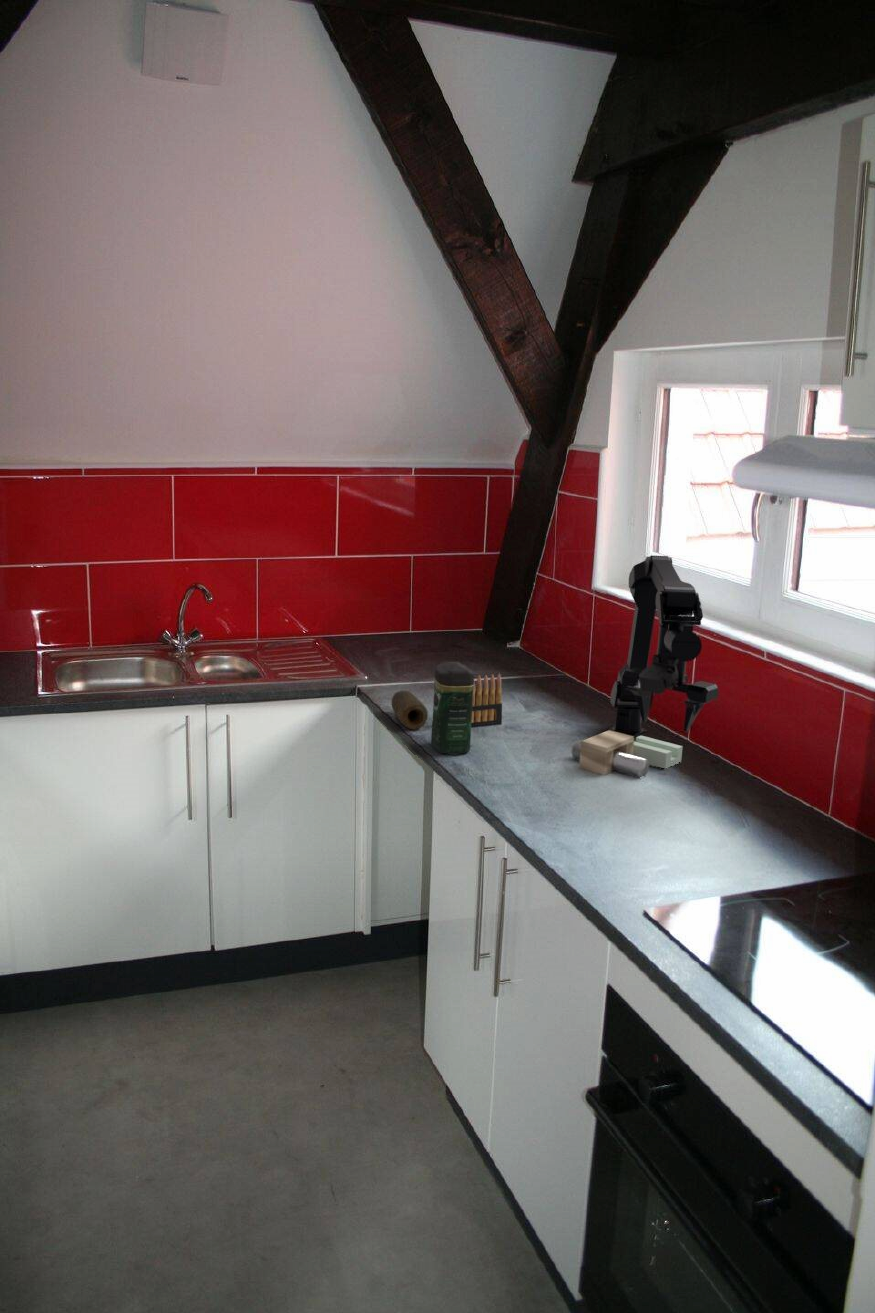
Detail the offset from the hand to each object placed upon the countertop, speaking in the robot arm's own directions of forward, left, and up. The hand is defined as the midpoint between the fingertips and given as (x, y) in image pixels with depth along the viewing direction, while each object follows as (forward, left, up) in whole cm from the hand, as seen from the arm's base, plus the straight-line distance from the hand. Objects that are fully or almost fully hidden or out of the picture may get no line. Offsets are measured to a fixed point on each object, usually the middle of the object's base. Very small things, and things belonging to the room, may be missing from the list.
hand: (665, 726), depth 218 cm
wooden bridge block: (-1, -13, -12) cm, 17 cm away
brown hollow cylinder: (+7, -61, -12) cm, 62 cm away
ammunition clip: (-3, -48, -12) cm, 49 cm away
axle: (-1, -12, -12) cm, 17 cm away
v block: (-11, -8, -12) cm, 18 cm away
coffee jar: (+15, -42, -12) cm, 46 cm away
